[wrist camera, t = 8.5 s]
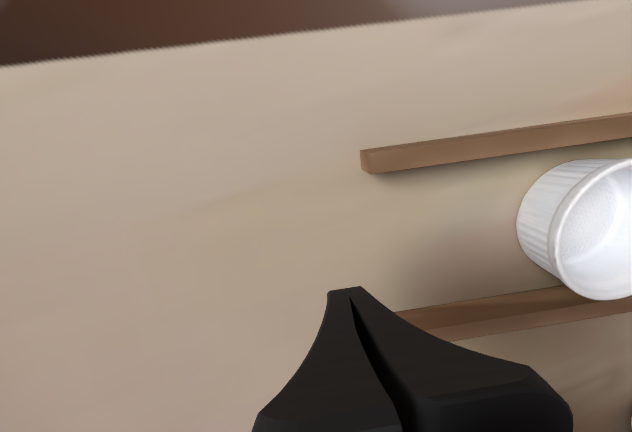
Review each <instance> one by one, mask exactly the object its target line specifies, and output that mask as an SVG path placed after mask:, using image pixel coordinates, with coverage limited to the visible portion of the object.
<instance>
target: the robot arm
mask: <svg viewBox="0 0 632 432" xmlns="http://www.w3.org/2000/svg"><path fill="white" fill-rule="evenodd" d="M252 432H573V415H572V412H571V410H570V407H569V405H568V404H567V403H566V402H565V401H564V399H563V398H562V397H561V396H560V395H559V394H558V393H557V392H556V391H555V390H554V389H553V388H552V387H551V386H550V385H549V384H548V383H547V382H546V381H545V380H544V379H543V378H542V377H541V376H540V375H538V374H537V373H536V372H535V371H534V370H533V369H532V368H531V367H529V366H527V365H523V364H519V363H515V362H511V361H507V360H503V359H498V358H494V357H491V356H487V355H484V354H481V353H478V352H475V351H471V350H468V349H466V348H463V347H460V346H457V345H455V344H452V343H450V342H447V341H445V340H443V339H440V338H438V337H436V336H434V335H431V334H429V333H427V332H425V331H424V330H422V329H420V328H418V327H416V326H414V325H412V324H411V323H409V322H407V321H406V320H404V319H403V318H401V317H400V316H398V315H396V314H395V313H394V312H392V311H391V310H389V309H388V308H387V307H385V306H384V305H383V304H382V303H380V302H379V301H378V300H377V299H375V298H374V297H373V296H372V295H371V294H369V293H368V292H367V291H366V290H365V289H364V288H362V287H361V286H358V287H351V288H345V289H339V290H332V291H329V292H328V293H327V306H326V311H325V314H324V318H323V321H322V324H321V327H320V329H319V332H318V334H317V337H316V339H315V341H314V343H313V345H312V347H311V349H310V351H309V353H308V354H307V356H306V358H305V359H304V361H303V362H302V364H301V366H300V367H299V369H298V370H297V371H296V373H295V374H294V375H293V377H292V378H291V379H290V380H289V382H288V383H287V384H286V385H285V387H284V388H283V389H282V390H281V391H280V393H279V394H278V395H277V396H276V397H275V398H274V399H273V400H272V401H270V402H269V403H268V404H267V405H266V406H265V407H264V408H263V409H262V410H261V411H260V412H259V413H258V415H257V418H256V420H255V423H254V426H253V429H252Z"/></svg>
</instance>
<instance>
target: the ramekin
mask: <svg viewBox="0 0 632 432" xmlns="http://www.w3.org/2000/svg"><path fill="white" fill-rule="evenodd" d="M516 229H517V235H518V240H519V242H520V245H521V247H522V249H523V251H524V252H525V254H526V255H527V256H528V257H529V258H530V259H531V260H532V261H533V262H535V263H536V264H537V265H539V266H540V267H542V268H543V269H545V270H546V271H548V272H550V273H551V274H553V275H554V276H556V277H557V278H559V279H560V280H561V281H562V282H563V283H564V284H565V285H566V286H567V287H569V288H570V289H571V290H573V291H574V292H575V293H577V294H579V295H581V296H583V297H586V298H589V299H593V300H615V299H620V298H624V297H628V296H631V295H632V158H626V159H581V160H575V161H569V162H566V163H563V164H560V165H558V166H556V167H554V168H552V169H551V170H549V171H548V172H546V173H545V174H544V175H542V176H541V177H540V178H539V179H538V180H537V181H536V182H535V183H534V184H533V185H532V186H531V188H530V189H529V190H528V192H527V193H526V195H525V196H524V198H523V201H522V203H521V205H520V208H519V211H518V215H517V221H516Z"/></svg>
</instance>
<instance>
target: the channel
mask: <svg viewBox="0 0 632 432" xmlns="http://www.w3.org/2000/svg"><path fill="white" fill-rule="evenodd" d="M627 137H632V112H630V113H623V114H616V115H609V116H602V117H595V118H587V119H580V120H573V121H566V122H559V123H552V124H545V125H537V126H530V127H523V128H516V129H509V130H502V131H494V132H487V133H480V134H473V135H466V136H459V137H452V138H444V139H437V140H430V141H423V142H416V143H409V144H401V145H394V146H387V147H380V148H373V149H366V150H360V157H361V168H362V169H363V170H364V171H366V172H368V173H370V174H376V173H383V172H390V171H397V170H404V169H411V168H418V167H425V166H432V165H439V164H446V163H453V162H460V161H467V160H474V159H481V158H488V157H495V156H502V155H509V154H516V153H523V152H530V151H537V150H544V149H551V148H557V147H564V146H571V145H578V144H585V143H592V142H599V141H606V140H613V139H620V138H627ZM625 312H632V295H631V296H628V297H624V298H620V299H615V300H593V299H589V298H586V297H583V296H581V295H579V294H577V293H575V292H574V291H573V290H571V289H570V288H569V287H567V286H566V285H562V286H556V287H550V288H544V289H537V290H531V291H525V292H519V293H512V294H506V295H500V296H494V297H487V298H481V299H475V300H469V301H462V302H456V303H450V304H444V305H437V306H431V307H425V308H419V309H412V310H406V311H400V312H394V313H395V314H396V315H398V316H400V317H401V318H403V319H404V320H406V321H407V322H409V323H411V324H412V325H414V326H416V327H418V328H420V329H422V330H424V331H425V332H427V333H429V334H431V335H434V336H436V337H438V338H440V339H443V340H445V341H447V342H450V341H456V340H462V339H468V338H474V337H480V336H486V335H492V334H498V333H504V332H510V331H516V330H522V329H528V328H534V327H541V326H547V325H553V324H559V323H565V322H571V321H577V320H583V319H589V318H595V317H601V316H607V315H613V314H619V313H625Z"/></svg>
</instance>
